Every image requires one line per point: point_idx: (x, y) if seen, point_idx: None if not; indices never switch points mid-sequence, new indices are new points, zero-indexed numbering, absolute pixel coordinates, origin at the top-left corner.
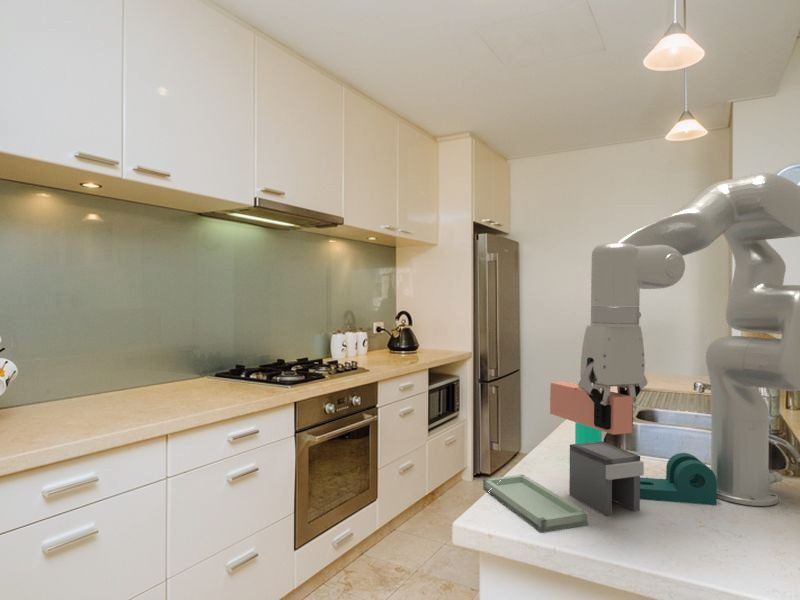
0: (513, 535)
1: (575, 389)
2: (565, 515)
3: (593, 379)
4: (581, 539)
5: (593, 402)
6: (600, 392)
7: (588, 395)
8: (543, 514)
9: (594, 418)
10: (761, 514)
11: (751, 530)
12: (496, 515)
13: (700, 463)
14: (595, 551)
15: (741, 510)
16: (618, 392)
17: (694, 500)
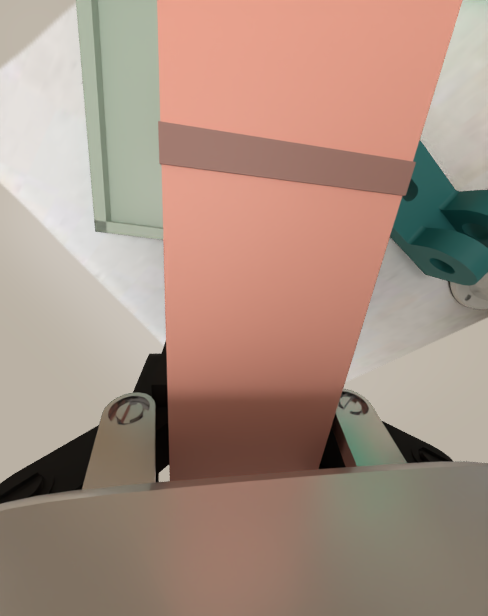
0: (49, 216)
1: (163, 144)
2: (152, 233)
3: (144, 515)
4: (154, 272)
5: (126, 402)
6: (236, 393)
7: (42, 460)
8: (136, 187)
9: (148, 358)
10: (433, 315)
11: (373, 337)
12: (51, 125)
13: (479, 274)
14: (149, 305)
15: (429, 298)
16: (338, 433)
17: (412, 257)
